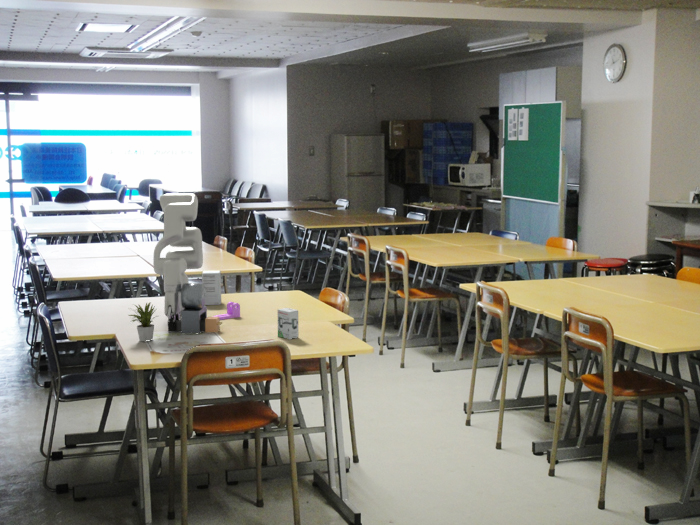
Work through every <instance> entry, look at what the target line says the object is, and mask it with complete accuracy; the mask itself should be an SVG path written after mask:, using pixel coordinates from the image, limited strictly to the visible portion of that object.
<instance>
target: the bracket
mask: <svg viewBox="0 0 700 525" xmlns="http://www.w3.org/2000/svg"><path fill="white" fill-rule="evenodd" d="M212 317H219V321H222V320H228V319H229V320H230V319H235V318H241V306H240V304H239V303H238V302H234V301H228V302H227V304H226V313H223V314H221V313H220V314H217V315H213V316H212Z"/></svg>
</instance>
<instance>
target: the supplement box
mask: <svg viewBox="0 0 700 525" xmlns="http://www.w3.org/2000/svg"><path fill="white" fill-rule="evenodd" d="M221 278H222V273H221V270H203V271H202V273H201V281H202V282H201V283H203V284H204V285H205V290H206V301H205V306H217V305H218V306H220V305H221V304H222V279H221Z"/></svg>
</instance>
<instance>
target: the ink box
mask: <svg viewBox="0 0 700 525" xmlns="http://www.w3.org/2000/svg"><path fill="white" fill-rule="evenodd" d="M277 337H278V338H282V337H283V339H286V338H288V339H287V340H293V339H292V338H295V339H298V338H299V310H297V309H294V308H291V307H284V308H279V309H277ZM297 337H298V338H297Z"/></svg>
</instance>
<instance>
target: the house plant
mask: <svg viewBox="0 0 700 525" xmlns="http://www.w3.org/2000/svg"><path fill="white" fill-rule="evenodd" d="M133 305H134V306H135V307H136V309H132V308H131V307H129V310H132V311H133V312H137V313H136V314H135V313H134V314H128V316H130V317H131V322H132V323H134V322H138V323H139V324H138V325H137V326H136V329H137V335H138V338H139V339H138V340H139V342H141V341H146V340H151V339H153V337H154V331H155V324H151V323H152V322H154V321H153V320H152V316H153V314H154V313H155V312H156V310H155V306H156V305H155V306H153V304H152V302H145V306H144V309H143V308H142V306H141V305H140V304H138V306H137V305H136V304H134V303H133V304H132V306H133ZM150 306H151V307H150ZM156 317H158V315H156V316H154V317H153V319H155V318H156ZM153 340H154V339H153Z"/></svg>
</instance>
